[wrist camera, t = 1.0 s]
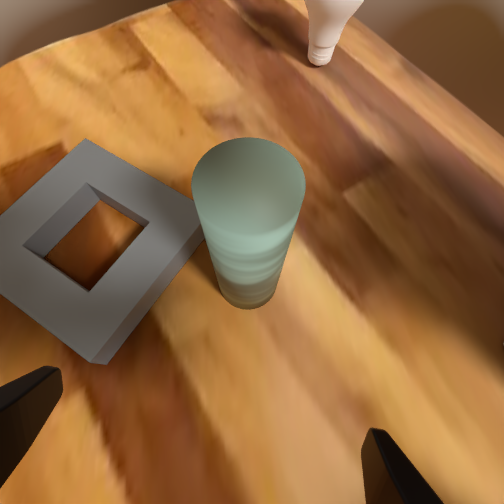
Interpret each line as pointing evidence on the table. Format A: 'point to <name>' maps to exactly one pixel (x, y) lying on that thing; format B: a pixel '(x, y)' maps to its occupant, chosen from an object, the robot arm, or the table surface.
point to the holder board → (121, 272)
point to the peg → (248, 214)
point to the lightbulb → (327, 26)
